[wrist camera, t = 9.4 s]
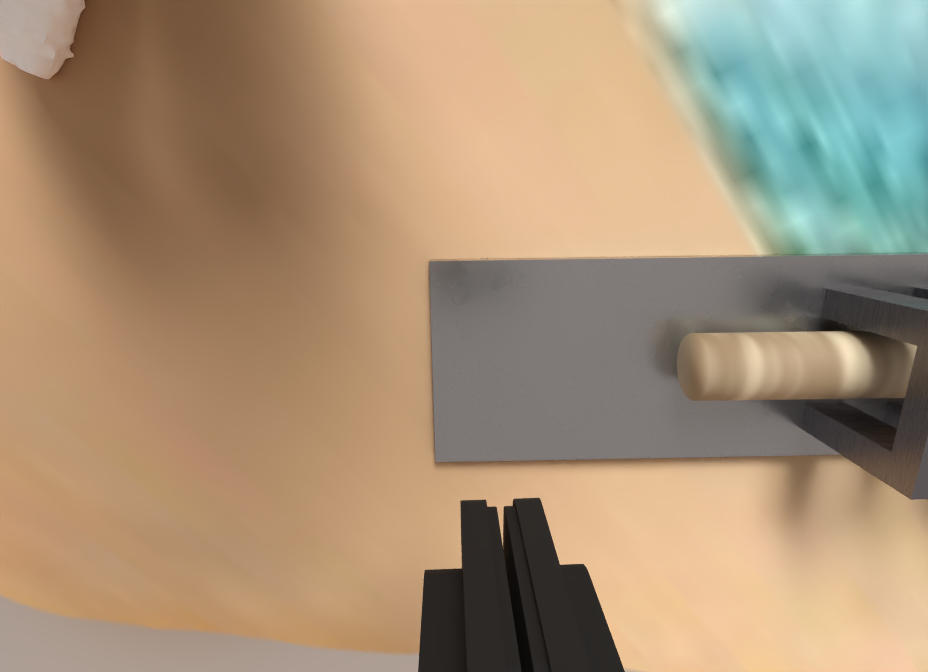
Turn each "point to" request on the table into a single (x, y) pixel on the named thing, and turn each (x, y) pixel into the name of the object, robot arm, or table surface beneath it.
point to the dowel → (793, 365)
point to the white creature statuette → (38, 33)
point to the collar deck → (665, 358)
